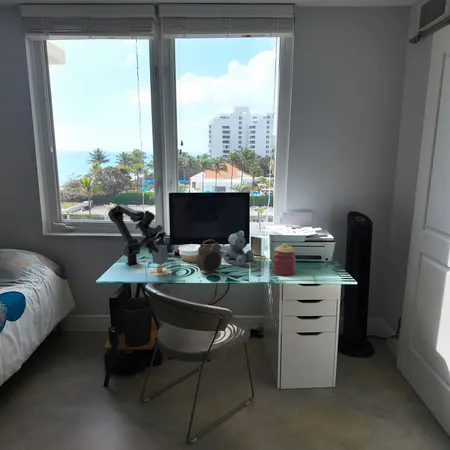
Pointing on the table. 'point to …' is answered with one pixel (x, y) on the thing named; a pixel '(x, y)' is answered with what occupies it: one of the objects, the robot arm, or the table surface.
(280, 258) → the canister
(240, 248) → the koala plush
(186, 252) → the bowl
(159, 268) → the ink pot
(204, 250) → the alarm clock
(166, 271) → the cork mat
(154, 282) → the table surface
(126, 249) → the robot arm
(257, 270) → the table surface
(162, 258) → the gray rectangular block
